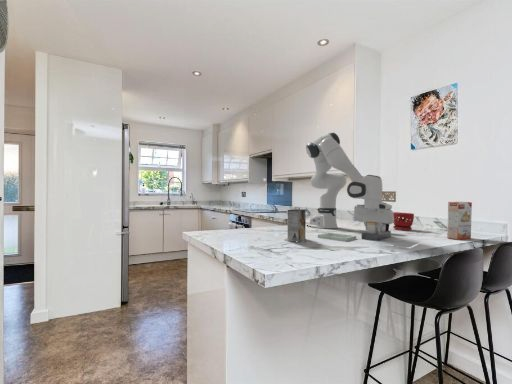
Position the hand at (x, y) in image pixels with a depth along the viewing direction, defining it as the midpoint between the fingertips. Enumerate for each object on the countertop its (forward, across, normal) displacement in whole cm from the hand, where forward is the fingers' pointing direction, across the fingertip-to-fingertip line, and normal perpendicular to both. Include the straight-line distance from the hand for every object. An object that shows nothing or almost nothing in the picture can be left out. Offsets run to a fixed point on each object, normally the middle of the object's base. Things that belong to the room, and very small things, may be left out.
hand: (372, 230), depth 146 cm
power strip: (+5, 0, +5) cm, 7 cm away
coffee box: (+5, -26, -33) cm, 42 cm away
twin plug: (+4, 0, +10) cm, 11 cm away
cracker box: (+5, +31, +44) cm, 54 cm away
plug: (+2, 0, 0) cm, 2 cm away
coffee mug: (+5, -6, +29) cm, 30 cm away
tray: (+5, -14, -13) cm, 20 cm away
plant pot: (+5, -3, +60) cm, 60 cm away
